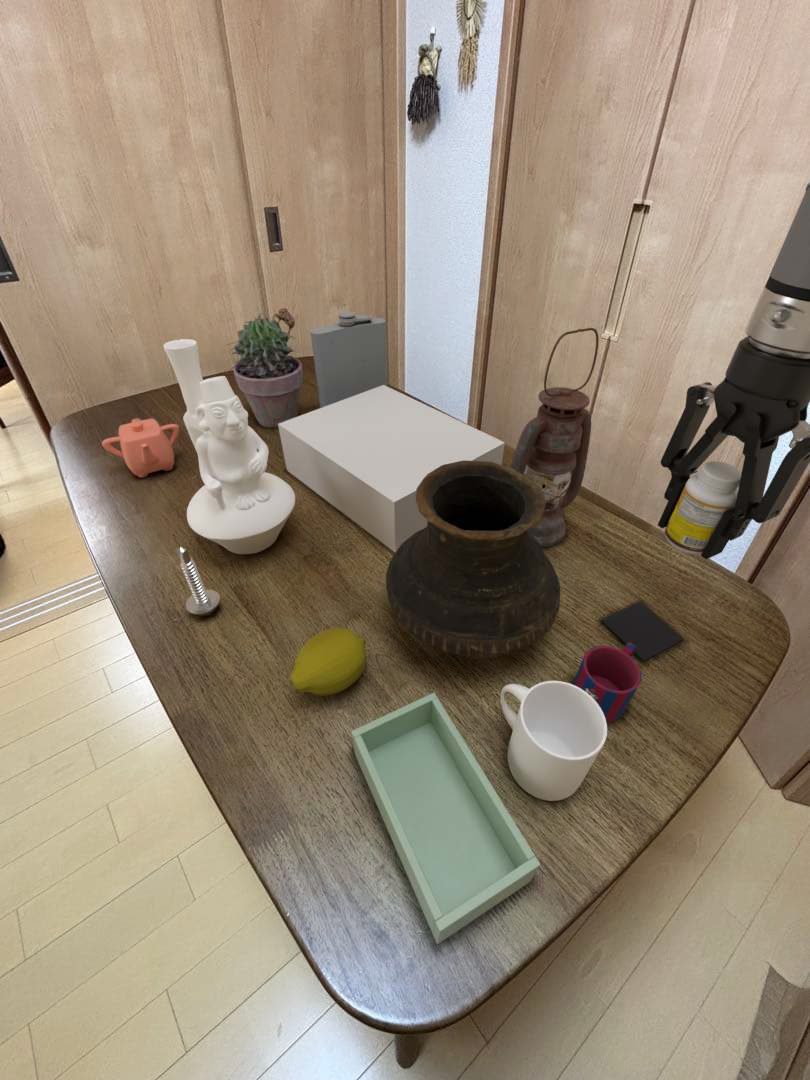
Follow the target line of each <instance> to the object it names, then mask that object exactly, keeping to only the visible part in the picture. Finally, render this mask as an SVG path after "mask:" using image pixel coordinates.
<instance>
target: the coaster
mask: <svg viewBox="0 0 810 1080" xmlns="http://www.w3.org/2000/svg"><path fill="white" fill-rule="evenodd" d="M600 623H602V624H603V625H604V626H605V627H606V628H607V629H608V630H609V631H610V632H611V633H612V634H613V635H614V636H615V637H616V638H617V639H618V640H619V641H620V642H621V643H622V644H623V645H624V646H625V645H626V644H627V643H629V642H630V643H633V644H634V645H635V646H636V649H635V652H634V653H633V655H635V656H636V657H637V658H638V659H639V660H640V661H641V662H642V663H644V662H646V661H648V660H649V659H651V658H653V657H655V656H657V655H659V654H660V653H663V652H664V651H667V650H668V649H671V648H672V647H674V646H676V645H678V644H680V643H681V642H684V640H685V638H684V637H682V636H681V635H680V634H679V633H678V632H677V631H675V630H674V629H673V628H672V627H671V626H670V625H668V624H667V623H666V622H665V621H664V620H662V618H660V617H659V615H657V614H656V613H654V612H653V611H652V610H651V609H650V608H649V607H648V606H646V604H644V603H643V602H642V601H638V602H637V603H635V604H632V605H630V606H628V607H626V608H623V609H622V610H619V611H617V612H615V613H613V614H611V615H609V616H607V617H605V618H603V619H601V620H600Z"/></svg>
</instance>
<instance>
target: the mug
mask: <svg viewBox="0 0 810 1080" xmlns="http://www.w3.org/2000/svg"><path fill="white" fill-rule="evenodd" d="M572 684H573V683H569V682H566V681H561V680H546V681H542V682H539V683H537V684H534V685H533V686H531V687H530V688H529V687H527V686H523V685H521V684H518V683H509V684H506V685H505V686H503V688H502V689H501V693H500V705H501V710H502V713H503V716H504V718H505V720H506V722H507V723H508V725H509V727H510V729H511V730H512V732H511V736H510V739H509V742H508V746H507V753H506V755H507V764H508V768H509V771H510V773H511V776H512V777H513V779H514V781H515V782H516V783H517V785H518V786H519V787H520V788H521V789H523V791H525V792H526V793H528V794H529V795H531V796H532V797H534V798H536V799H539V800H543V801H547V802H558V801H562V800H565V799H567V798H569V797H572V795H573V794H575V793H576V792H577V790H578V789H579V788H580V787H581V785H582V783H583V782H584V779H585V778H586V776H587V775H588V772H589V771H590V770H591V768H592V766H593V764H594V762H595V761H596V759H597V757H598V756H599V754H600V753H601V750H602V748H603V747H604V745H605V743H606V741H607V736H608V723H606V719H605V716H604V713H603V712H602V710H601V708H600V706H599V705H598V703H597V702H596V701H595V700H594V699H593V698H592V697H591V696H590V695H589V694H588V693H586V692H585V691H584V690H582V689H581V688H579V687H577V686H575V685H572ZM506 693H510V694H512V695H513V696H514V697H516V699H517V700H518V701H519V702H520V704H519V708H518V712H517V714H516V713H515V712H514V711H513V710H512V709H511V708H510V706H509V705H508V704H507V701H506V699H505V694H506Z"/></svg>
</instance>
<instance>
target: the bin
mask: <svg viewBox="0 0 810 1080" xmlns="http://www.w3.org/2000/svg"><path fill="white" fill-rule="evenodd" d="M351 739H352V746H353V752H354V756H355V758H356V760H357V762H358V765H359V767H360V769H361V770H360V771H361V772H362V774H363V776H364V778H365V782H366V784H367V785H368V788H369V790H370V793H371V795H372V798H373V800H374V801H375V804H376V806H377V809H378V812H379V813H380V816H381V818H382V820H383V822H384V825H385V827H386V829H387V832H388V835H389V837H390V839H391V841H392V844H393V846H394V848H395V850H396V853H397V856H398V858H399V859H400V862H401V864H402V866H403V869H404V871H405V874H406V875H407V878H408V881H409V883H410V885H411V887H412V890H413V892H414V894H415V896H416V899H417V900H418V904H419V906H420V908H421V910H422V913H423V915H424V918H425V920H426V923H427V924H428V927H429V929H430V932H431V933H432V936H433V938H434V940H435V943H436V945H439V944H440V943H442V942H444V941H445V940H447V939H448V938H450V937H451V936H453V935H454V934H455V933H457V932H458V931H460V930H461V929H463V928H464V927H466V926H467V925H468V924H470V923H471V922H474V920H476V919H477V918H479V917H481V916H482V915H483V914H485V913H487V912H488V911H489V910H491V909H492V908H494V907H496V906H497V905H498V904H500V903H501V902H503V901H504V900H505V899H507V898H508V897H510V896H511V895H513V894H515V893H516V892H517V891H519V890H521V889H522V888H524V887H525V886H526V885H528V884H529V883H531V882H532V879H533V878H534V877H535V875H536V873H537V871H538V870H539V868H540V866H541V863H540V861H539V859H538V858H537V856H536V854H535V853H534V851H533V850H532V847H530V844H529V843H528V841H527V840H526V839H525V837H524V835H523V834H522V832H521V831H520V829H519V827H518V825H517V823H516V822H515V821H514V819H513V817H512V816H511V814H510V812H509V811H508V809H507V808H506V805H505V804H504V803H503V801H502V799H501V798H500V797H499V794H498V793H497V792H496V789H495V788H494V787H493V785H492V783H491V781H490V780H489V778H488V777H487V776H486V774H485V771H483V769H482V767H481V766H480V764H479V762H478V760H477V759H476V757H475V756H474V754H473V752H472V751H471V749H470V748H469V746H468V745H467V743H466V741H465V740H464V738H463V736H462V735H461V733H460V732H459V730H458V728H457V727H456V725H455V723H454V722H453V720H452V718H451V717H450V715H449V713H448V712H447V709H445V708H444V706H443V704H442V702H441V701H440V699H439V698H438V696H437V694H436V693H435V692H432V693H430V694H427V695H425V696H424V697H421V698H419V699H417V700H415V701H413V702H411V703H408V704H406V705H403V706H402V707H399V708H397V709H396V710H393V711H391V712H389V713H387V714H385V715H383V716H381V717H379V718H376V719H374V720H373V721H370V722H368V723H366V724H364V725H361V726H359V727H357V728H355V729H353V730H351Z"/></svg>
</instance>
